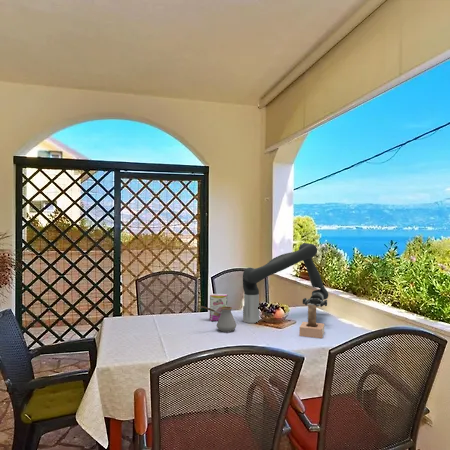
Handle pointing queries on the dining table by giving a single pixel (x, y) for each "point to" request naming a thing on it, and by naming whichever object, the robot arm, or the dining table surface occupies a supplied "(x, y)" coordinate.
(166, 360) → the dining table surface
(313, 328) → the socket block
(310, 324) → the walnut peg
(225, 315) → the coffee pot
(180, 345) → the dining table surface
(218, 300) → the candy bar box
